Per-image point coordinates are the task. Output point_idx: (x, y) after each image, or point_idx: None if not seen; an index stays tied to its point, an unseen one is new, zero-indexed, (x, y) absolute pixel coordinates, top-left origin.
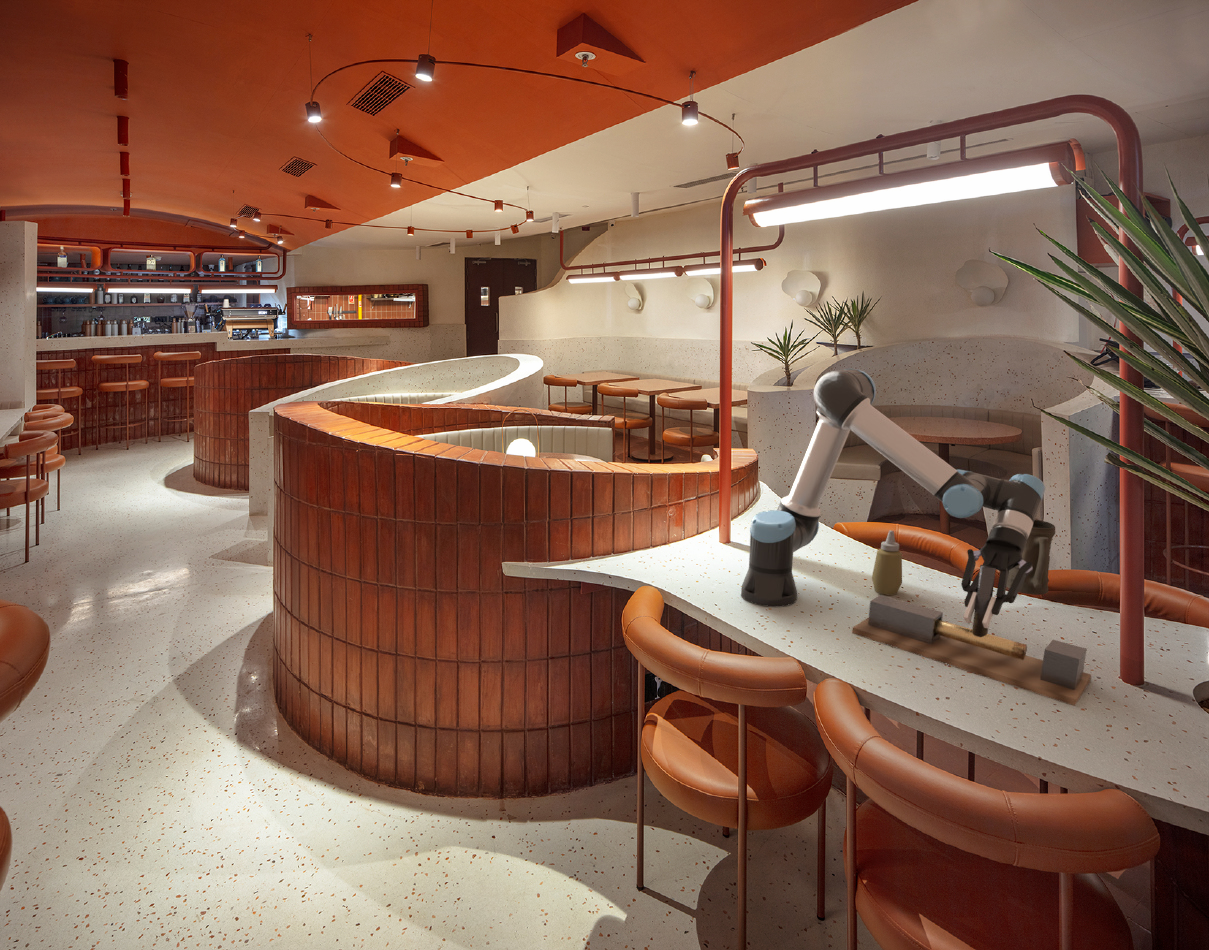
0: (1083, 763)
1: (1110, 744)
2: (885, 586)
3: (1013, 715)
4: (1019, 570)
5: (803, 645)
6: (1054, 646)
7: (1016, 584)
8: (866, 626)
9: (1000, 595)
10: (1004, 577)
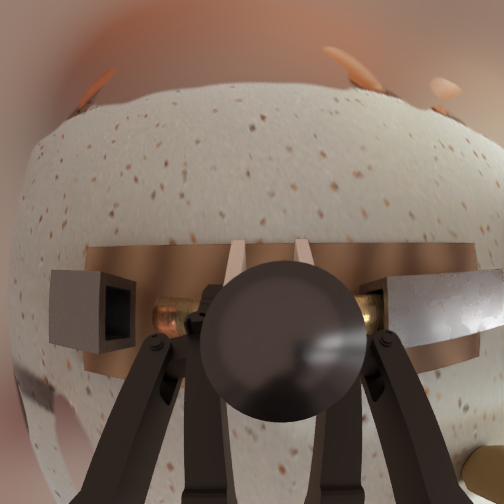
0: (96, 119)
1: (67, 177)
2: (486, 451)
3: (161, 150)
4: (109, 494)
5: (464, 152)
6: (88, 308)
7: (123, 405)
8: (466, 267)
9: (191, 317)
10: (190, 442)
